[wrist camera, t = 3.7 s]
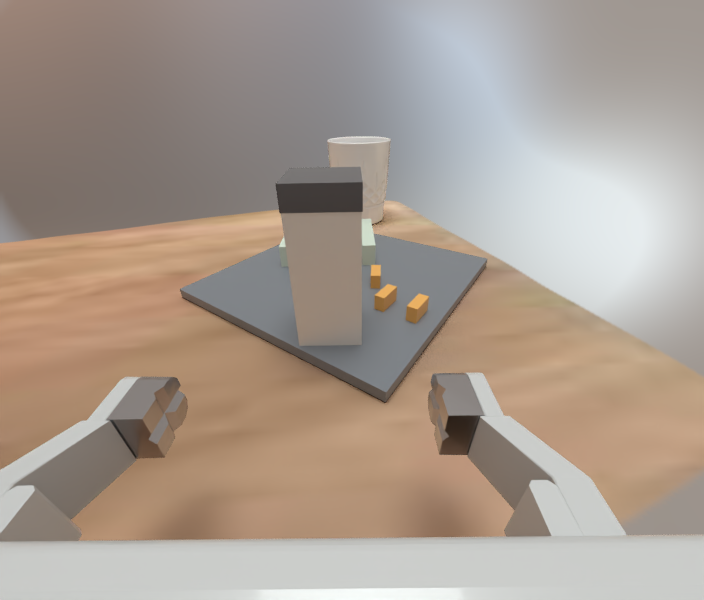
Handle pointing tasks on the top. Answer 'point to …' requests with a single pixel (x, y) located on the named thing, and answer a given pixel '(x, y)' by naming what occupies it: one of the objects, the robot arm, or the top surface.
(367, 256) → the end holder
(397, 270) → the board
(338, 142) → the white cup
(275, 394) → the top surface
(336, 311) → the beige container
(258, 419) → the top surface
